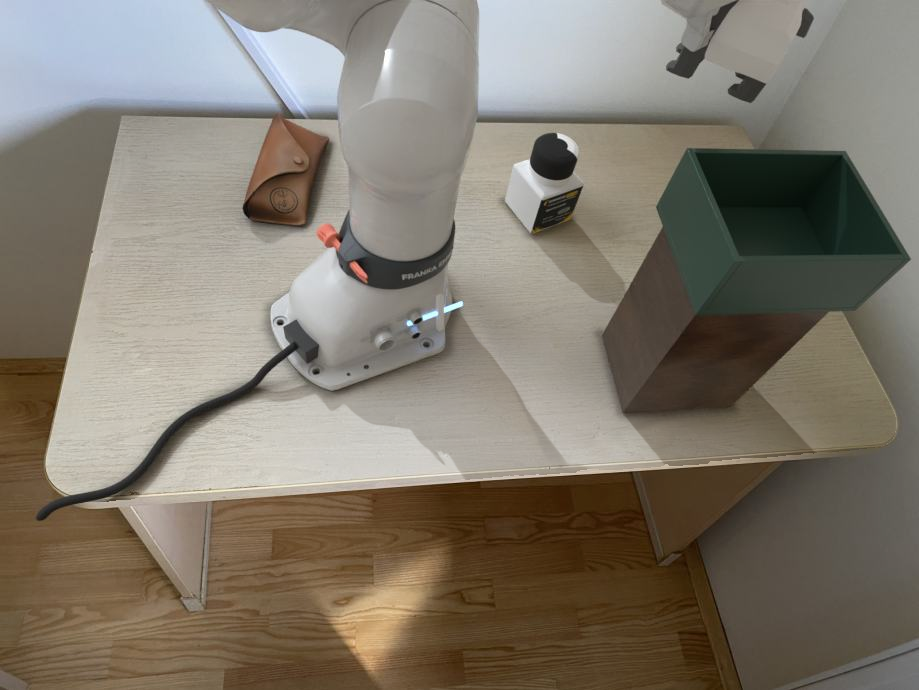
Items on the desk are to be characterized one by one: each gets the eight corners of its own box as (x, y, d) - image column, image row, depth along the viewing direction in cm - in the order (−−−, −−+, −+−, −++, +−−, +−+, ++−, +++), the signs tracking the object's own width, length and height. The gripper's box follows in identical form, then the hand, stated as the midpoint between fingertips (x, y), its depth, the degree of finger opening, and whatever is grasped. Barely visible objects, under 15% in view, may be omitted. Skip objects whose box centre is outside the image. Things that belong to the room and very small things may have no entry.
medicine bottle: (530, 235, 92) (551, 170, 82) (503, 201, 95) (520, 134, 85) (571, 220, 94) (596, 155, 84) (543, 187, 97) (564, 120, 87)
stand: (622, 413, 78) (702, 305, 60) (601, 335, 84) (668, 215, 66) (730, 407, 81) (839, 301, 62) (702, 332, 87) (795, 215, 68)
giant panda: (774, 80, 61) (836, -22, 54) (763, 112, 59) (827, 9, 51) (629, 23, 64) (668, -84, 56) (610, 51, 61) (649, -58, 53)
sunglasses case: (309, 225, 87) (278, 190, 82) (265, 238, 90) (233, 204, 85) (331, 135, 97) (305, 98, 92) (291, 148, 99) (264, 113, 94)
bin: (695, 315, 59) (735, 261, 53) (655, 207, 66) (686, 147, 60) (855, 311, 62) (911, 259, 56) (800, 207, 69) (845, 150, 62)
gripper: (855, -190, 52) (764, -15, 63) (687, -148, 43) (618, 45, 55) (924, -154, 49) (817, 20, 61) (762, -103, 41) (673, 88, 53)
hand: (722, 32), depth 58 cm, fingers closed on giant panda, 7 cm apart
